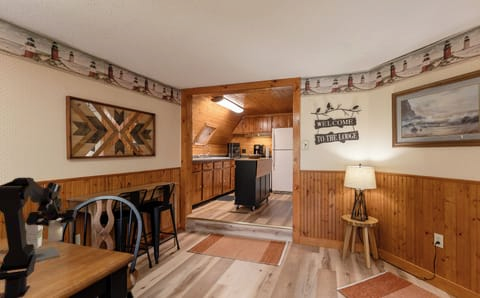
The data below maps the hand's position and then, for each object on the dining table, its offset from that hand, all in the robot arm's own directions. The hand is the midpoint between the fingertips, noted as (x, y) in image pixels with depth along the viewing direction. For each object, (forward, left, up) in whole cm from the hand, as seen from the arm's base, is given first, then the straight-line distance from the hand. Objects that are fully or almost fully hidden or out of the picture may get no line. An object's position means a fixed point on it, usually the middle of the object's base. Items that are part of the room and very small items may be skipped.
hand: (56, 225), depth 118 cm
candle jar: (-1, 0, -7) cm, 7 cm away
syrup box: (+13, +12, -14) cm, 23 cm away
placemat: (0, +5, -14) cm, 15 cm away
